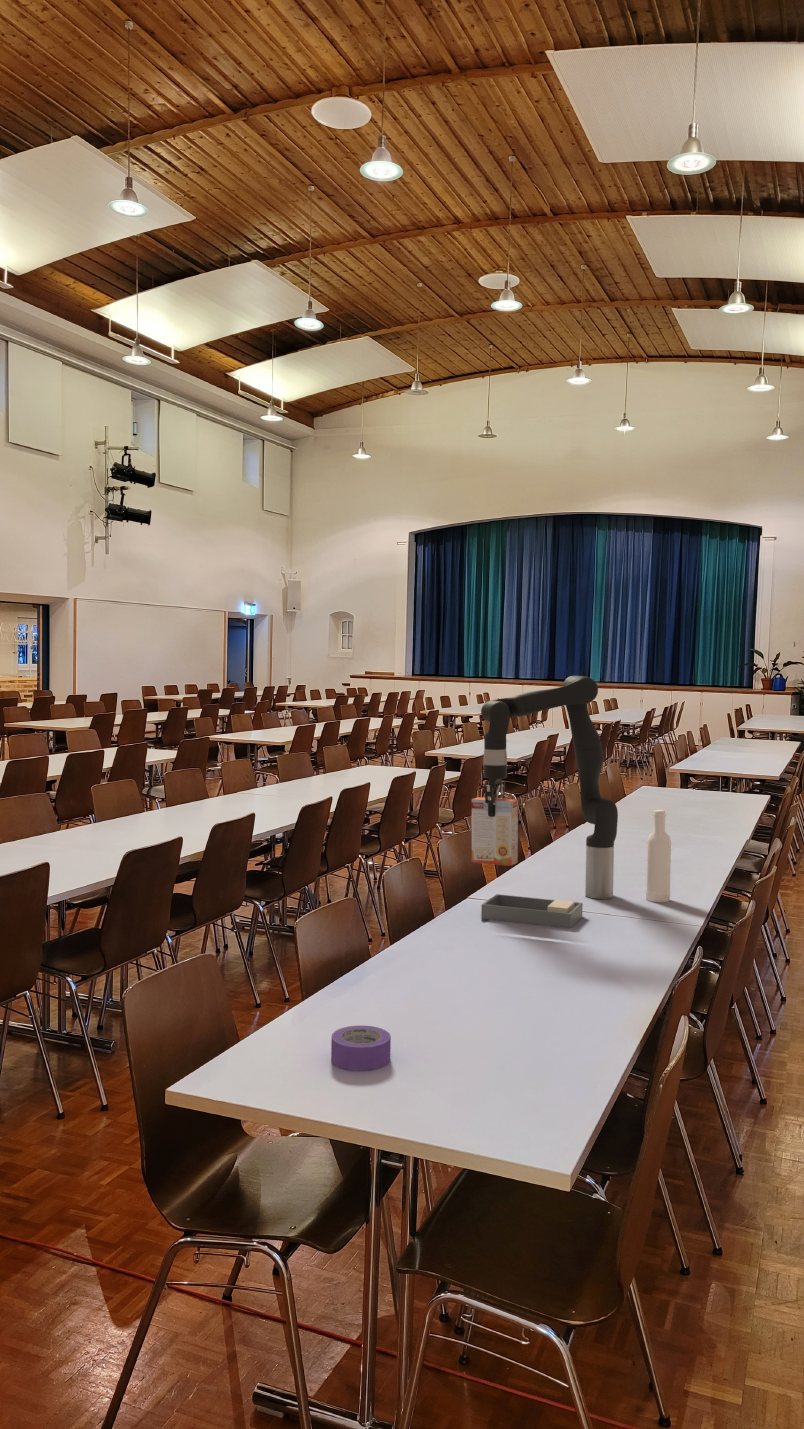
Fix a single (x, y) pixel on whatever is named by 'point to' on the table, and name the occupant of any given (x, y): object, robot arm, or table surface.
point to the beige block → (561, 906)
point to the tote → (528, 911)
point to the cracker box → (495, 832)
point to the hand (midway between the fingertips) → (494, 814)
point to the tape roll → (360, 1048)
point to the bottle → (658, 861)
